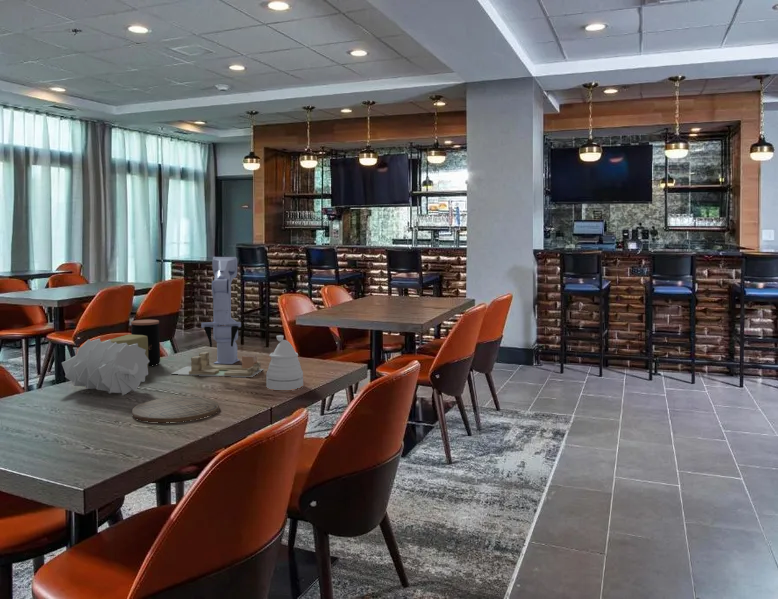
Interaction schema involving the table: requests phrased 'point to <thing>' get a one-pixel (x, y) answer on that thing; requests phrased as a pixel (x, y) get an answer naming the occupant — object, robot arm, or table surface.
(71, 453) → the table surface
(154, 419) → the trivet
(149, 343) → the coffee jar
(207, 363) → the beige wooden beam
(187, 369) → the mat
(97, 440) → the table surface
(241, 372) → the broken strip
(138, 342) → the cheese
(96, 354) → the white spiky cylinder
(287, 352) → the honey pot
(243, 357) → the cube
